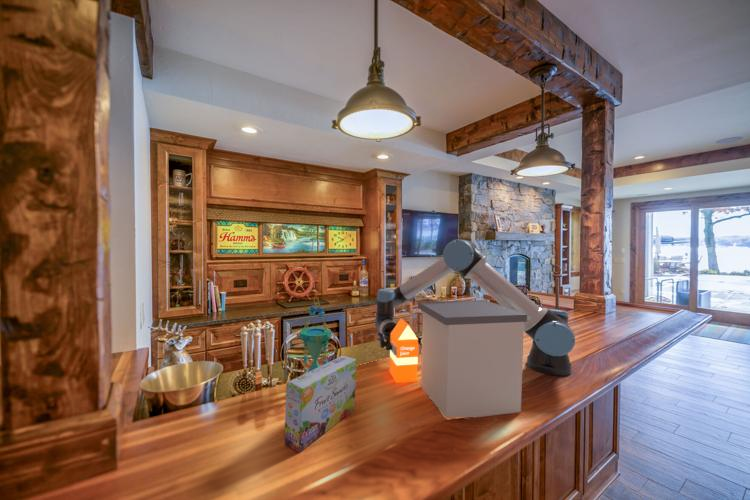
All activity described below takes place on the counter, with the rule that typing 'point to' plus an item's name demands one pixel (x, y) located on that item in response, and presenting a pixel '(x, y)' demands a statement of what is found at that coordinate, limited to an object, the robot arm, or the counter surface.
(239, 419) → the counter surface
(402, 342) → the orange juice
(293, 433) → the snack box
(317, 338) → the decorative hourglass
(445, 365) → the under-counter cabinet
